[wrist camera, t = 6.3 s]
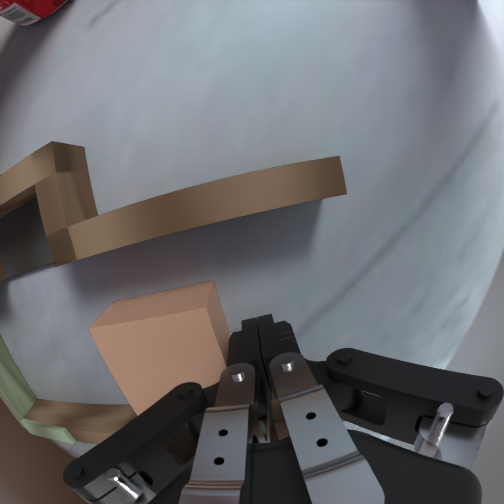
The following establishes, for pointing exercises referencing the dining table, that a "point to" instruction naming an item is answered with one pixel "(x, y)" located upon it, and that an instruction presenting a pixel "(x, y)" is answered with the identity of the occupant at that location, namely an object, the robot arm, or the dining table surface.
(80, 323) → the dining table surface
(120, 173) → the dining table surface
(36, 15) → the soda can
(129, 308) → the block
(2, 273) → the track
